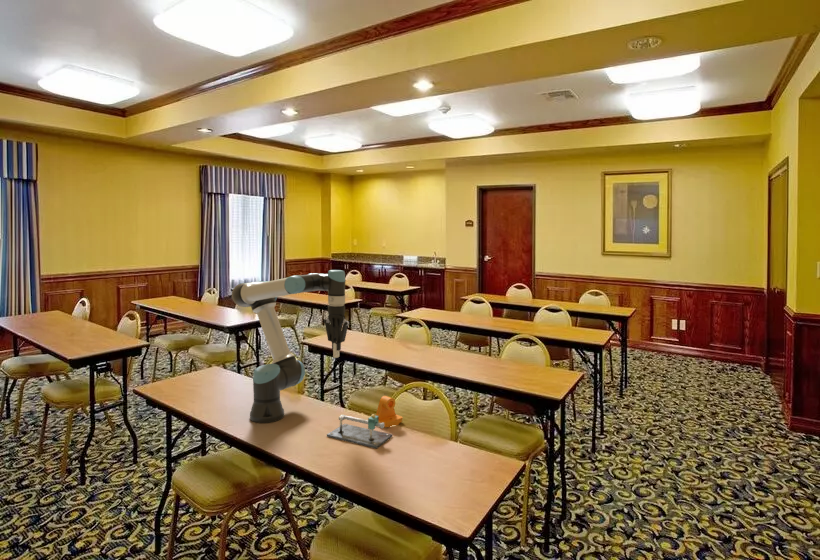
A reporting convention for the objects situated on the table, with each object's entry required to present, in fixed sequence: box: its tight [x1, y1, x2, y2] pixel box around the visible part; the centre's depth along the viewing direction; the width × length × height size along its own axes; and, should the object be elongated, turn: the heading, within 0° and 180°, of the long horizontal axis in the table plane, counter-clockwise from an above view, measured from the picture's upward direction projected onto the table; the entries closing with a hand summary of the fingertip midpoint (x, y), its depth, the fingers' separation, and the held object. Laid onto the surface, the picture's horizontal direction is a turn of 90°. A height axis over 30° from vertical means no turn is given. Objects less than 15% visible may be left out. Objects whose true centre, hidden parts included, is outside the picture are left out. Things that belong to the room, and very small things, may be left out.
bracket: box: [375, 395, 403, 428], centre depth 213 cm, size 11×7×12 cm, turn 135°
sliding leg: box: [367, 413, 379, 439], centre depth 195 cm, size 2×4×9 cm, turn 153°
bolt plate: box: [326, 423, 393, 450], centre depth 199 cm, size 24×13×1 cm, turn 63°
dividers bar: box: [338, 414, 385, 433], centre depth 197 cm, size 21×3×7 cm, turn 63°
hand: (336, 357), depth 213 cm, fingers closed
